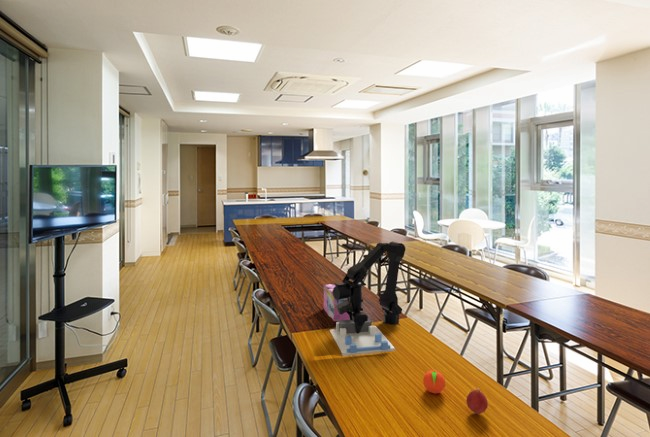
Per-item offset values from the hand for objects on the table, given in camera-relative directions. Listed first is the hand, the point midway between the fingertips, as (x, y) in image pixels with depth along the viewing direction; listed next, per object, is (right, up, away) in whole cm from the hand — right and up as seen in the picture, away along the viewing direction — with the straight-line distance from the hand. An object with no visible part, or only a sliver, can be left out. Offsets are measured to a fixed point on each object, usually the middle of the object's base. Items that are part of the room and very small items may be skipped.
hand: (355, 329), depth 172 cm
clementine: (+22, -7, -47) cm, 52 cm away
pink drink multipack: (-8, 0, +24) cm, 25 cm away
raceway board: (+2, -3, -8) cm, 8 cm away
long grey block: (0, -1, 0) cm, 1 cm away
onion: (+31, -8, -58) cm, 67 cm away
